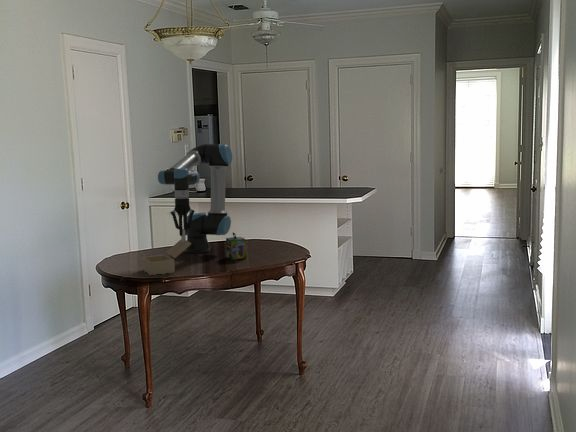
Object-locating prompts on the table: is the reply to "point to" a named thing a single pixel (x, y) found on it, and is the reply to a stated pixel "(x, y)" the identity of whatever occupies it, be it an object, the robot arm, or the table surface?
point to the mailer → (158, 264)
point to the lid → (178, 248)
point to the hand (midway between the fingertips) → (183, 241)
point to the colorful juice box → (236, 247)
